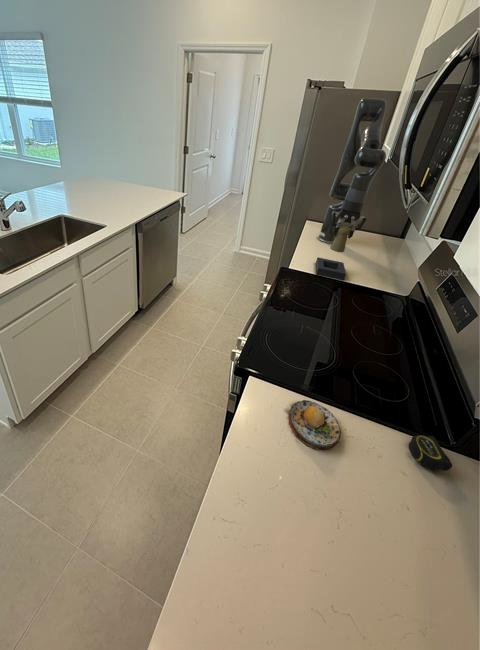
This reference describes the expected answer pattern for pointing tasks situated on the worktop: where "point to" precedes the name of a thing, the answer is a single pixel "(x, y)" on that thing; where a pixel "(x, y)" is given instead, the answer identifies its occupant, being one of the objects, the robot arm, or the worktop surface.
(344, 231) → the olive flared shaker
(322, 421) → the speckled dish
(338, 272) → the base pad
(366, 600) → the worktop surface
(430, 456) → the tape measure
